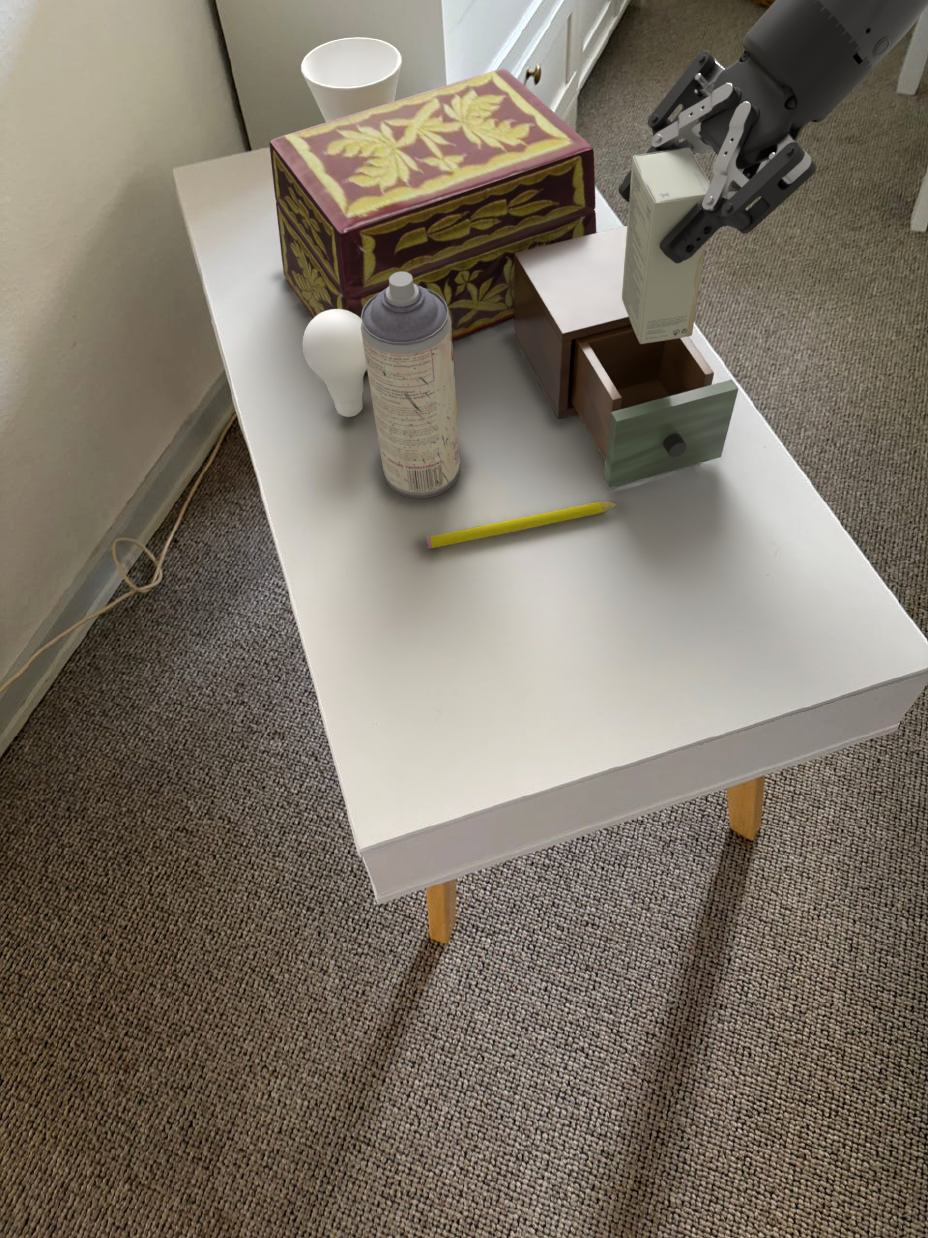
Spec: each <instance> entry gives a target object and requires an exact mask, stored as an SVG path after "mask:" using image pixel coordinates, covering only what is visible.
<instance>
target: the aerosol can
mask: <svg viewBox="0 0 928 1238" xmlns="http://www.w3.org/2000/svg"><path fill="white" fill-rule="evenodd" d="M361 320H362V324H361V333H362V340H363V346H364V352H365V358H366V365H367V371H368V374H367V376H368V377H367V378H368V383H369V389H370V395H371V401H372V402H371V403H372V408H373V414H374V421H375V428H376V433H377V439H378V447H379V452H380V458H381V465H382V471H383V476H384V480H385V482H386V484H387V485H388V486H389V487H390V489H391V490H393V491H394V492H396V493H397V494H399V495H400V496H403V497H407V498H410V499H429V498H432V497H436V496H440V495H441V494H443V493H445V492H447V491H448V490H449V489H450V488H452V486H454V485H455V483H456V482H457V480H458V478H459V476H460V472H461V458H460V457H461V456H460V443H459V441H460V440H459V425H458V409H457V395H456V394H457V393H456V392H457V391H456V379H455V378H456V377H455V361H454V346H453V342H452V329H451V319H450V316H449V313H448V308H447V305H446V302H445V301H444V300H443V299H442V298H441V297H440V296H439V294H437V293H435V292H433V291H431V290H429V289H426V288H423V287H421V286H418V285H416V284H414V283H413V278H412V275H411V274H409V273H407V272H396V273H394V274H392V275H391V276H390V278H389V287H387V288H386V289H384V290H383V291H382V292H380V293H378V294H376V295H375V296H374V297H372V298H371V299H370V300H369V301H368V302H367V303H366V305H365V306H364V308H363V310H362V315H361Z"/></svg>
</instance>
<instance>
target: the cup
mask: <svg viewBox="0 0 928 1238" xmlns="http://www.w3.org/2000/svg"><path fill="white" fill-rule="evenodd" d="M402 59H403V58H402V54H401V53H400V52H399V50H398V49H397V47H395V46H394V45H392V44H390V42H386V41H385V40H381V39H376V38H371V37H344V38H339V39H336V40H330V41H328V42H326V43H323V44H321V45H318V46H316V47H315V48H314V49H311V50H310V51H309V52H308V53H307V54H306V55H305V56H304V58H303V60H302V62H301V64H300V71H301V75H302V76H303V77H304V80H305V81H306V84H307V86H308V88H309V89H310V92H311V94H312V96H313V99H314V101H315V102H316V104H317V107H318V109H319V111H320V113H321V115H322V117H323V119H324V121H325V123H326V122H329V121H332V120H335V119H339V118H342V117H345V116H348V115H352V114H355V113H358V112H361V111H365V110H368V109H371V108H374V107H378V106H381V105H384V104H387V103H391V102H394V101H395V99H396V93H397V88H398V83H399V78H400V73H401V69H402V65H403V60H402Z"/></svg>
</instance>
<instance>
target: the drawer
mask: <svg viewBox="0 0 928 1238" xmlns="http://www.w3.org/2000/svg"><path fill="white" fill-rule="evenodd" d="M714 375H715V372H714V370H713V369H712V367H711V366H710V365H709V362H708V361H706V359H705V357H704V356H703V355H702V353H701V352H700V350H699V349H698V348H697V347H696V345H695V343H694V341H692V340H691V338H690V336H689V337H683V338H677V339H671V340H665V341H658V342H651V343H644V344H640V343H639V341H638V338H637V336H636V334H635V332H634V329H633V327H632V324H631V325H627V326H623V327H619V328H615V329H611V330H607V331H604V332H600V333H596V334H592V335H588V336H584V337H580V338H576V341H575V356H574V370H573V385H572V401H571V402H572V404H573V406H574V408H575V409H576V411H577V413H578V414H577V415H578V416H579V418H580V420H581V422H582V423H583V425H584V427H585V429H586V431H587V432H588V434H589V435H590V437H591V439H592V441H593V443H594V444H595V447H596V448H597V450H598V451H599V453H600V455H601V457H602V458H603V460H604V470H603V481H604V483H605V485H606V487H607V489H609V490H610V489H613V488H617V487H620V486H624V485H628V484H631V483H635V482H639V481H641V480H645V479H648V478H651V477H657V476H660V475H663V474H667V473H669V472H673V471H677V470H680V469H684V468H687V467H691V466H695V465H698V464H701V463H704V462H709V461H713V460H715V459H719V458H721V457H722V455H723V452H724V448H725V445H726V444H725V443H726V440H727V436H728V433H729V428H730V424H731V420H732V416H733V412H734V408H735V405H736V400H737V397H738V392H739V387H738V386H737V385H736V383H735V382H734V380H733V379H728V380H724V381H721V382H716V383H713V381H714Z"/></svg>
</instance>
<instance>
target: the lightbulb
mask: <svg viewBox="0 0 928 1238" xmlns="http://www.w3.org/2000/svg"><path fill="white" fill-rule="evenodd" d="M361 324H362V320H361V318H360V317H358V316H357V315H356V314H354V313H352V312H350V311H347V310H343V309H331V310H327V311H324V312H321V313H320V314H318V315H317V316H315V317H314V318H312V319H311V320H310V322H309V323H308V324H307V325H306V328H305V329H304V332H303V333H304V334H303V337H302V353H303V356H304V359H305V361H306V364H307V365H308V367H309V368H310V369H311V370H312V371H313V372H314V373H315V374H316V375H317V377H319V378H321V379H322V380H323V382H324V383H325V385H326V387H327V391H328V393H329V396H330V398H331V399H332V401H333V404H334V407H335V410H336V413H337V414H339V416H342V417H345V418H350V417H354V416H358V414H359V413H361V411H362V410H363V408H364V405H363V392H364V376H365V375H364V373H365V371H366V369H367V365H366V358H365V352H364V346H363V340H362V333H361Z"/></svg>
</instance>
